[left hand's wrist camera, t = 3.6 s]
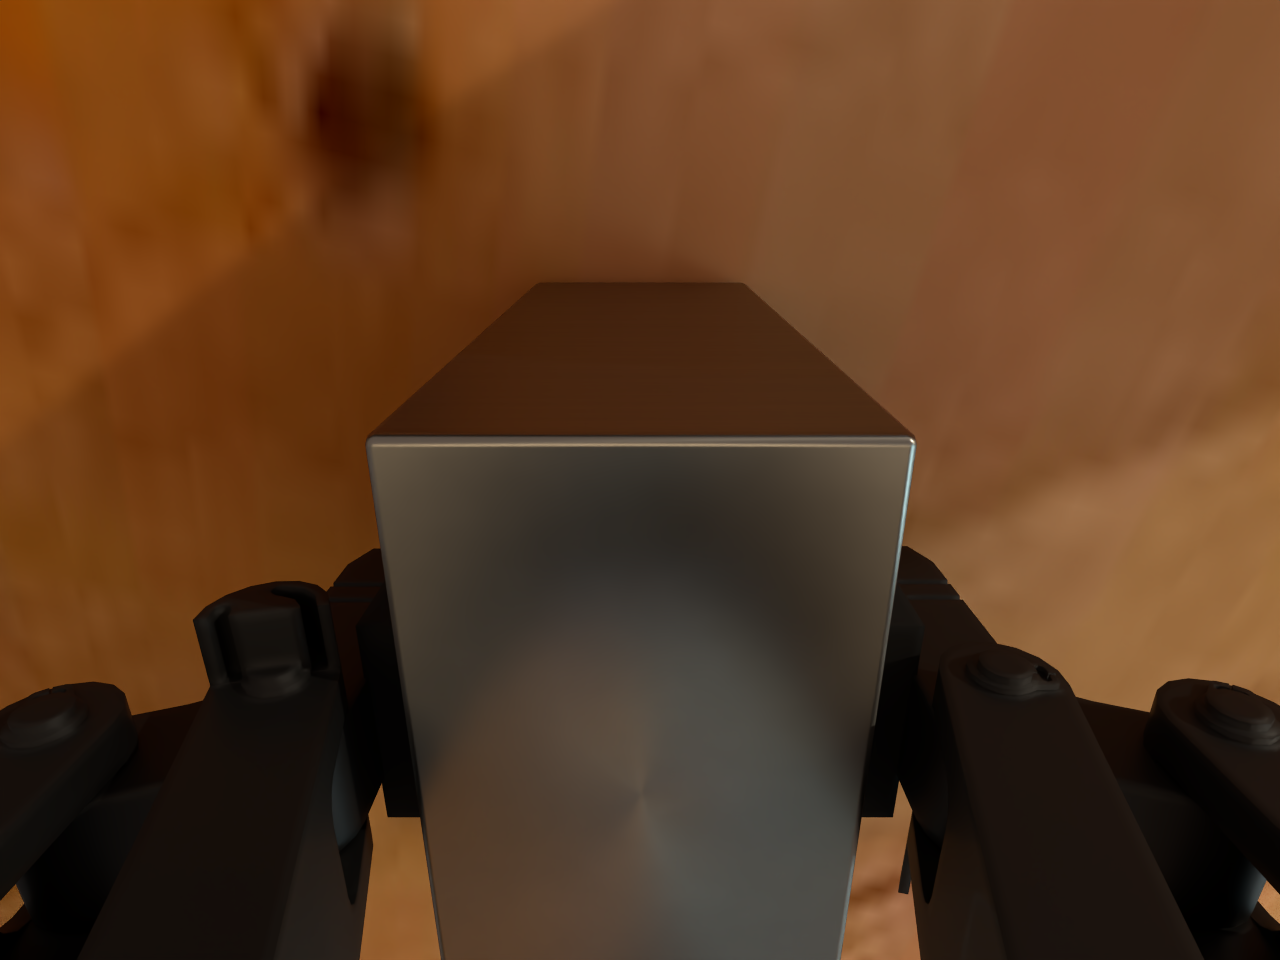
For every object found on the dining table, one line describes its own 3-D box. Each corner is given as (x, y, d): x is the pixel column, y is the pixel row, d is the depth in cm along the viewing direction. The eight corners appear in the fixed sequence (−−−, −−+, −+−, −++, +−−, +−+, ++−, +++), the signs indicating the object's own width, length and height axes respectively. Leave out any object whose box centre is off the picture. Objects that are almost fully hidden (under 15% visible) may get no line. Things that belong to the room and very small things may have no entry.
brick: (551, 586, 19) (449, 1037, 9) (535, 282, 16) (359, 436, 6) (729, 586, 19) (832, 1037, 9) (745, 282, 16) (923, 436, 6)
